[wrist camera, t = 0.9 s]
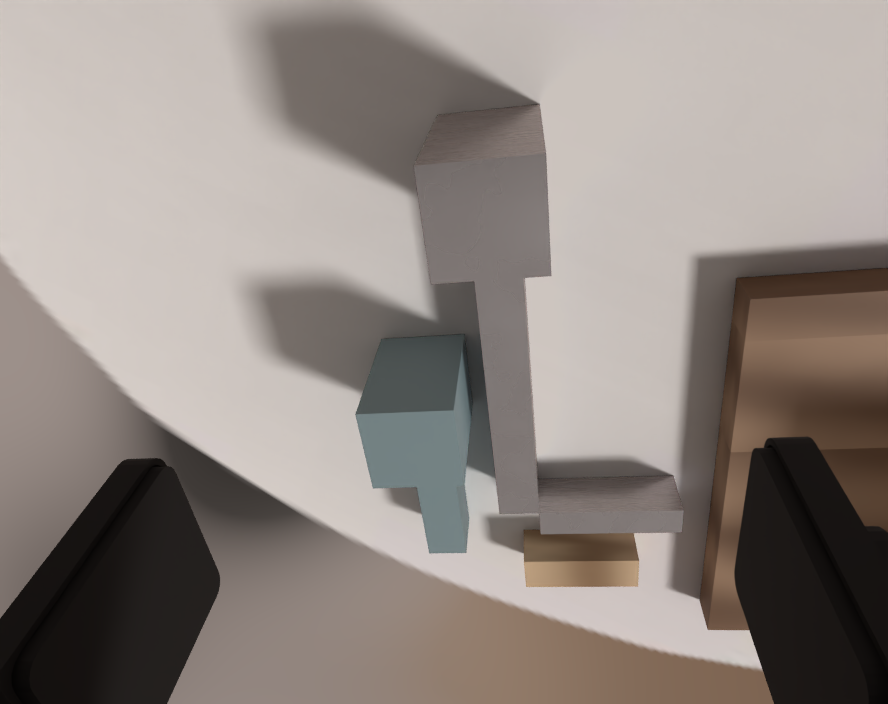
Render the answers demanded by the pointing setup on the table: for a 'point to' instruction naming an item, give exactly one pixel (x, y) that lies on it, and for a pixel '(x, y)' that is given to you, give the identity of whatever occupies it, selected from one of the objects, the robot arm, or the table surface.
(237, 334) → the table surface
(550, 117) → the table surface
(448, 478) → the light blue l-shaped block
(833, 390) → the deck
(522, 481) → the crook
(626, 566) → the short block
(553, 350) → the table surface
